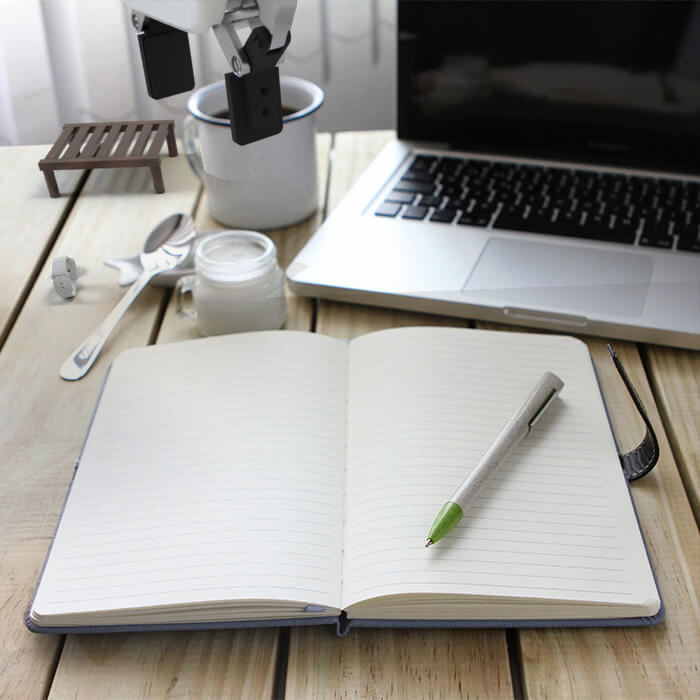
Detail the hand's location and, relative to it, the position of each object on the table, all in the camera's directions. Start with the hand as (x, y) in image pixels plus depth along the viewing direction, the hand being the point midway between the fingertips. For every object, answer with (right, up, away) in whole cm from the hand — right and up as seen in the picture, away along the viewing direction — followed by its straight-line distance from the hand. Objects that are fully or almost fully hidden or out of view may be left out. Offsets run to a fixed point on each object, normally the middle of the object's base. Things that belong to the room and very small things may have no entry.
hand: (212, 114), depth 48 cm
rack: (-21, +8, +50) cm, 55 cm away
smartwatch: (-19, -9, +29) cm, 36 cm away
